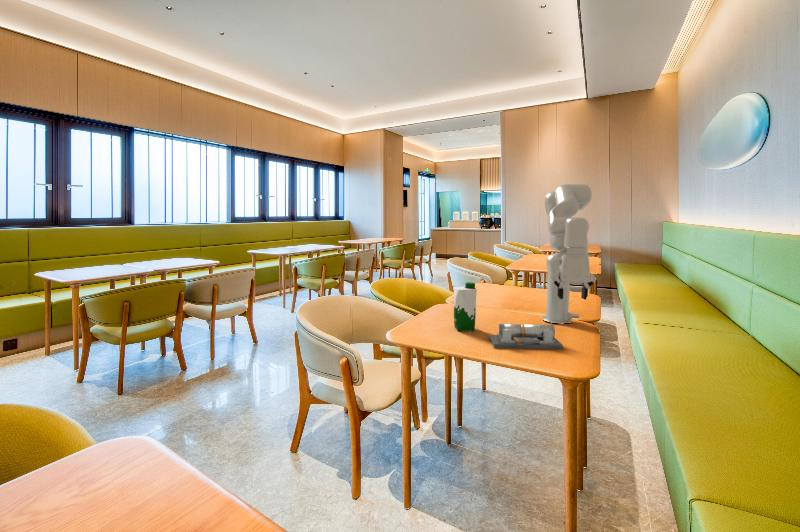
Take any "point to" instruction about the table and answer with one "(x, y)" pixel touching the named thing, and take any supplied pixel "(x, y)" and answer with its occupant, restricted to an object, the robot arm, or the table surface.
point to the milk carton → (465, 307)
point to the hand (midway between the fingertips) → (572, 298)
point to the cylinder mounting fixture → (524, 340)
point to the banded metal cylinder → (528, 330)
